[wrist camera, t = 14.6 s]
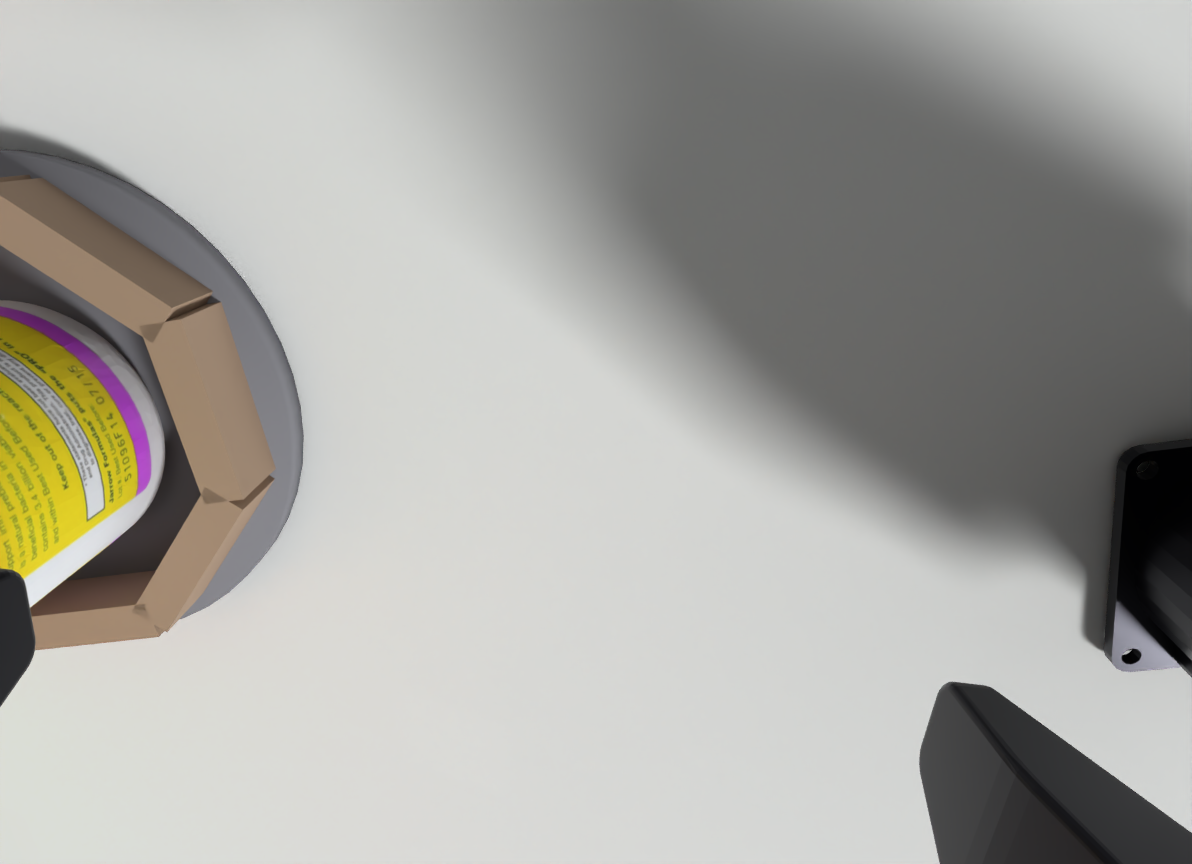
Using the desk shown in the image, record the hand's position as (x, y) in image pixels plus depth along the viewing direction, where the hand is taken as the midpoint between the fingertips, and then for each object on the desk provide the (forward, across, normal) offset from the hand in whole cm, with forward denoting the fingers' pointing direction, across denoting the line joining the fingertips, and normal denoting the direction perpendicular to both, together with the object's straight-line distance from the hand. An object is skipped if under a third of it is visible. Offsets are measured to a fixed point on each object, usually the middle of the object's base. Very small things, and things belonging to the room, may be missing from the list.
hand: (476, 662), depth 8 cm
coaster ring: (+13, +14, +4) cm, 19 cm away
